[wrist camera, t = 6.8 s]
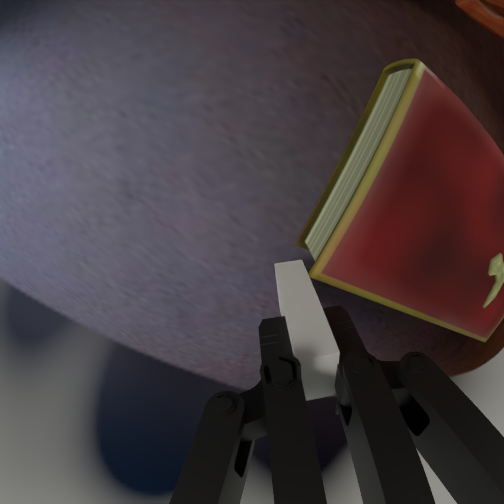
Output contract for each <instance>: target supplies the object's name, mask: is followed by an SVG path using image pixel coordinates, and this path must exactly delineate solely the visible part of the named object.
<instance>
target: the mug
mask: <svg viewBox="0 0 504 504" xmlns="http://www.w3.org/2000/svg"><path fill="white" fill-rule="evenodd" d="M454 2H455V4H456V5H457V6H458V8H459V9H460V10H462V11H463V12H464V13H465V14H467V15H468V16H469V17H470V18H472V19H473V20H474V21H476V22H477V23H479V24H480V25H481V26H483V27H484V28H485V29H486V30H488V31H490V32H492V33H493V34H495V35H497V36H498V37H500V38H501V39H503V40H504V0H454Z"/></svg>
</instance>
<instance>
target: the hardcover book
mask: <svg viewBox="0 0 504 504" xmlns="http://www.w3.org/2000/svg"><path fill="white" fill-rule="evenodd" d="M296 245H298V246H301V247H303V248H305V249H308V250H310V252H311V254H312V256H313V258H314V260H315V262H314V264H313V265H312V267H311V269H310V270H309V272H308V274H309V277H311V278H313V279H316V280H319V281H321V282H324V283H327V284H329V285H332V286H335V287H337V288H340V289H343V290H345V291H348V292H351V293H353V294H356V295H359V296H361V297H364V298H367V299H369V300H372V301H375V302H377V303H380V304H383V305H385V306H388V307H391V308H393V309H396V310H399V311H401V312H404V313H407V314H410V315H412V316H415V317H418V318H420V319H423V320H426V321H428V322H431V323H434V324H437V325H439V326H442V327H445V328H447V329H450V330H453V331H455V332H458V333H461V334H464V335H466V336H469V337H472V338H474V339H477V340H480V341H483V342H486V341H487V340H488V338H489V337H490V336H491V335H492V333H493V332H494V331H495V329H496V328H497V327H498V325H499V324H500V322H501V321H502V320H503V318H504V155H503V153H502V152H501V151H500V149H499V148H498V146H497V145H496V143H495V142H494V141H493V139H492V138H491V136H490V135H489V134H488V132H487V131H486V130H485V129H484V127H483V126H482V125H481V123H480V122H479V121H478V120H477V118H476V117H475V116H474V115H473V114H472V112H471V111H470V110H469V109H468V108H467V107H466V106H465V104H464V103H463V102H462V101H461V100H460V99H459V98H458V97H457V96H456V95H455V94H454V92H453V91H452V90H451V89H450V88H449V87H448V86H447V85H446V84H445V83H444V82H443V81H442V80H441V79H440V78H438V77H437V76H436V75H435V74H434V73H433V72H432V71H431V70H430V69H429V68H428V67H427V66H425V65H424V64H423V63H422V62H421V61H420V60H418V59H417V58H409V59H403V60H399V61H396V62H394V63H391V64H389V65H387V66H385V67H384V69H383V72H382V74H381V76H380V78H379V80H378V83H377V85H376V87H375V89H374V91H373V93H372V95H371V98H370V100H369V102H368V104H367V106H366V108H365V110H364V112H363V114H362V116H361V118H360V121H359V123H358V125H357V127H356V129H355V131H354V133H353V135H352V137H351V139H350V141H349V143H348V145H347V147H346V149H345V151H344V153H343V155H342V157H341V159H340V161H339V163H338V165H337V167H336V169H335V171H334V173H333V174H332V176H331V178H330V180H329V182H328V184H327V186H326V188H325V190H324V192H323V194H322V196H321V197H320V199H319V201H318V203H317V205H316V207H315V209H314V211H313V213H312V214H311V216H310V218H309V220H308V222H307V224H306V226H305V227H304V229H303V231H302V233H301V235H300V237H299V238H298V240H297V242H296Z"/></svg>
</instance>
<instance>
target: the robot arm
mask: <svg viewBox="0 0 504 504" xmlns="http://www.w3.org/2000/svg"><path fill="white" fill-rule="evenodd" d="M274 266H275V274H276V282H277V290H278V299H279V306H280V311H281V317H275V318H268V319H262V322H261V324H260V326H259V337H260V348H261V358H262V364H261V368H260V374H261V380H260V382H259V383H258V384H257V385H256V386H255V387H254V388H252V389H250V390H248V391H245V392H243V393H240V394H237V393H235V392H232V391H222V392H219V393H216V394H214V395H213V396H212V397H211V398H210V399H209V400H208V402H207V403H206V406H205V409H204V412H203V415H202V417H201V420H200V423H199V425H198V428H197V431H196V433H195V436H194V439H193V442H192V445H191V447H190V450H189V453H188V455H187V458H186V460H185V463H184V466H183V468H182V471H181V474H180V477H179V479H178V482H177V485H176V487H175V490H174V493H173V495H172V498H171V500H170V503H169V504H240V499H241V496H242V492H243V489H244V485H245V481H246V477H247V472H248V469H249V464H250V460H251V456H252V452H253V447H254V443H255V439H257V438H260V437H262V436H265V435H267V434H268V442H269V453H270V463H271V473H272V483H273V494H274V504H327V502H326V497H325V491H324V486H323V480H322V476H321V471H320V465H319V461H318V455H317V450H316V445H315V440H314V435H313V430H312V426H311V421H310V416H309V412H308V407H307V402H306V401H307V400H312V399H317V398H322V397H327V396H331V395H334V394H335V389H336V392H337V396H338V401H337V407H336V415H338V414H339V413H340V416H341V420H342V423H343V427H344V430H345V434H346V438H347V441H348V445H349V449H350V452H351V456H352V460H353V463H354V467H355V471H356V475H357V479H358V483H359V487H360V492H361V496H362V500H363V504H435V501H434V498H433V495H432V492H431V489H430V486H429V483H428V480H427V477H426V474H425V471H424V468H423V466H422V463H421V460H420V458H419V455H418V452H417V450H418V451H419V452H420V454H421V455H422V456H423V458H424V459H425V460H426V462H427V463H428V464H429V466H430V467H431V469H432V470H433V471H434V472H435V474H436V475H437V476H438V478H439V479H440V481H441V482H442V483H443V485H444V486H445V487H446V489H447V490H448V492H449V493H450V494H451V496H452V497H453V498H454V500H455V501H456V502H457V504H504V437H503V436H502V435H501V434H500V432H499V431H498V430H497V429H496V428H495V427H494V426H493V425H492V423H491V422H490V421H489V420H488V419H487V418H486V417H485V416H484V414H483V413H482V412H481V411H480V410H479V409H478V408H477V407H476V406H475V405H474V404H473V402H472V401H471V400H470V399H469V398H468V397H467V396H466V395H465V394H464V393H463V392H462V391H461V390H460V389H459V387H458V386H457V385H456V384H455V383H454V382H453V381H452V380H451V379H450V378H449V377H448V376H447V375H446V374H445V373H444V372H443V371H442V370H441V369H440V368H439V367H438V366H437V365H436V364H435V363H434V362H433V361H432V360H431V359H430V358H429V357H428V356H426V355H425V354H424V353H420V352H410V353H407V354H405V355H404V356H403V357H402V358H401V361H380V360H377V359H376V358H375V357H374V356H372V355H371V354H369V353H368V352H367V351H366V349H365V347H364V344H363V342H362V340H361V338H360V336H359V334H358V332H357V330H356V328H355V327H354V324H353V322H352V321H351V318H350V316H349V314H348V312H347V311H346V310H345V309H343V308H342V307H341V306H340V305H338V306H333V307H328V308H323V309H322V306H321V304H320V301H319V299H318V296H317V294H316V292H315V289H314V287H313V284H312V282H311V280H310V277H309V275H308V273H307V270H306V268H305V266H304V263H303V261H302V260H296V261H289V262H283V263H276V264H274ZM416 448H417V450H416Z"/></svg>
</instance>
